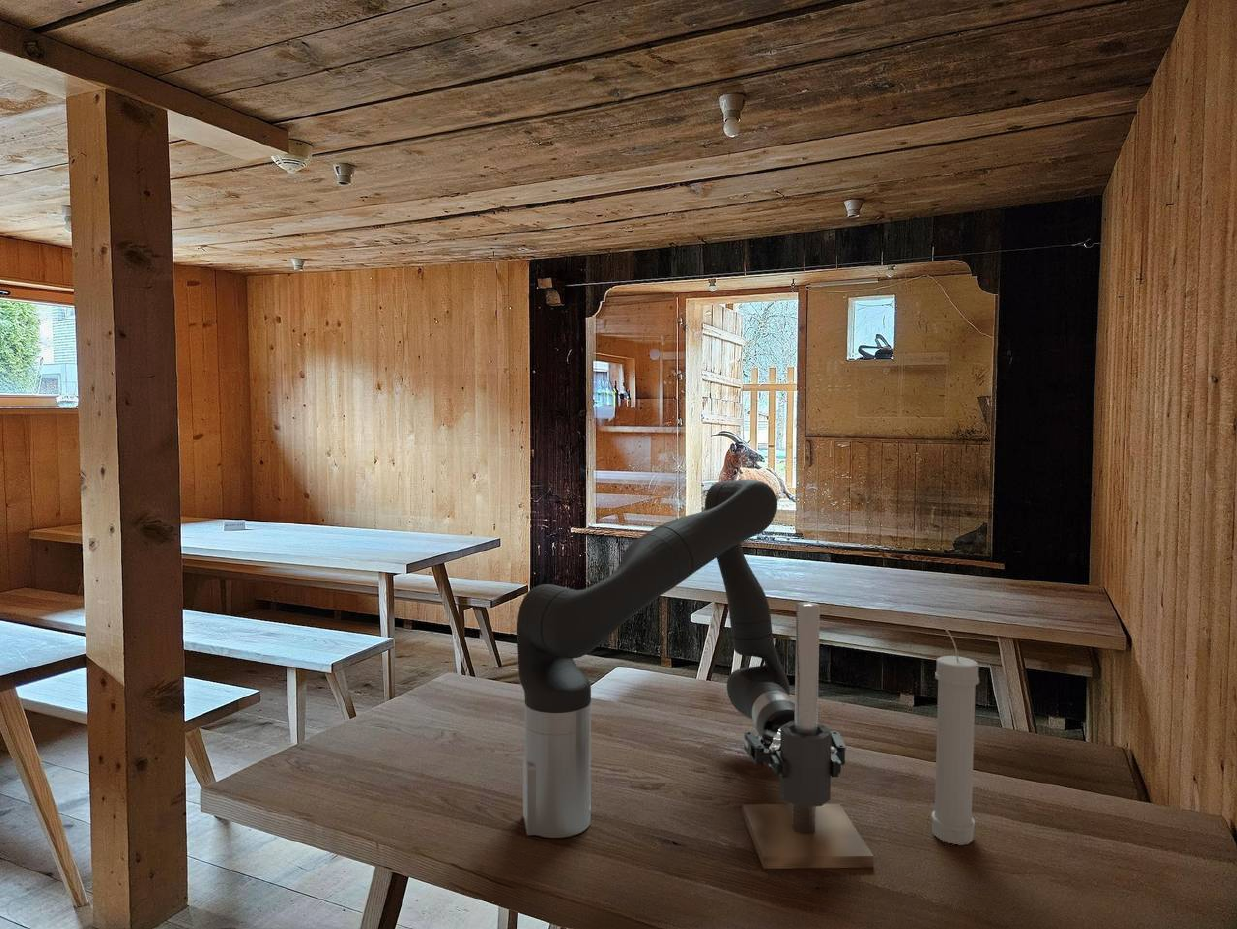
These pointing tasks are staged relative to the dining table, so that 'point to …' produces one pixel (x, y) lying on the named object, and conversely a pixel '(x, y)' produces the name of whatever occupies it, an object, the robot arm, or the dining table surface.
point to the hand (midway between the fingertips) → (810, 770)
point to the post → (806, 830)
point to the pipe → (955, 748)
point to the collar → (806, 766)
